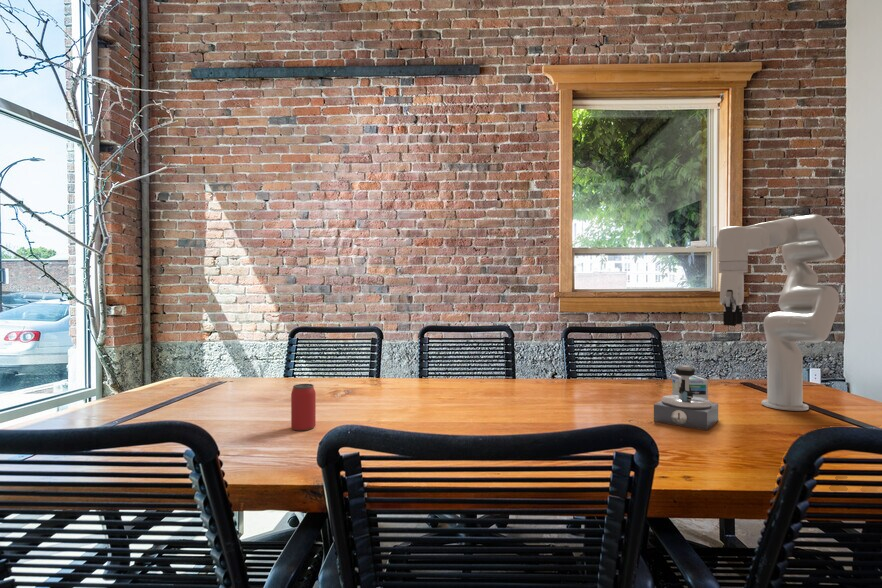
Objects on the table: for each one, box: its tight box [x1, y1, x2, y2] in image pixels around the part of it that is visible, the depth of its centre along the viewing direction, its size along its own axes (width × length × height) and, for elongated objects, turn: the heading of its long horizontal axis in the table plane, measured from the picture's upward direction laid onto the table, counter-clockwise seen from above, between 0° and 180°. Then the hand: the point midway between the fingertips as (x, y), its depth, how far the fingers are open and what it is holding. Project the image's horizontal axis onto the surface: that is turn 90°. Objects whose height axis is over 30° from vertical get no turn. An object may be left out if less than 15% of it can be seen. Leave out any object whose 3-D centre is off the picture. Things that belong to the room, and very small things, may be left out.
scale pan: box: [661, 394, 712, 409], centre depth 139 cm, size 13×13×1 cm
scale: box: [653, 399, 719, 431], centre depth 139 cm, size 15×14×5 cm
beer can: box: [290, 383, 317, 432], centre depth 132 cm, size 7×7×12 cm
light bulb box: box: [671, 373, 709, 400], centre depth 153 cm, size 11×7×11 cm, turn 179°
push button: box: [674, 364, 696, 401], centre depth 139 cm, size 7×5×10 cm
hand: (733, 324), depth 142 cm, fingers open, 9 cm apart
